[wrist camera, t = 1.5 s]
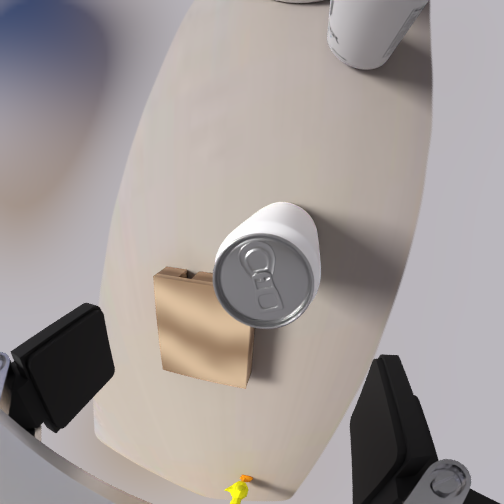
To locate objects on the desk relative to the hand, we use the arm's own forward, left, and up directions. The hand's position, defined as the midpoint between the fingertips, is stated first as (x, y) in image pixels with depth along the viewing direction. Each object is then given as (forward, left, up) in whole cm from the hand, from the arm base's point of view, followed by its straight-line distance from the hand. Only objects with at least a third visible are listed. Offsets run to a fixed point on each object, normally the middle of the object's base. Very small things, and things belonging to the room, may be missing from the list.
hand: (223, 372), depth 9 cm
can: (0, 0, -20) cm, 20 cm away
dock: (+11, -7, -19) cm, 23 cm away
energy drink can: (-19, +6, -20) cm, 28 cm away
